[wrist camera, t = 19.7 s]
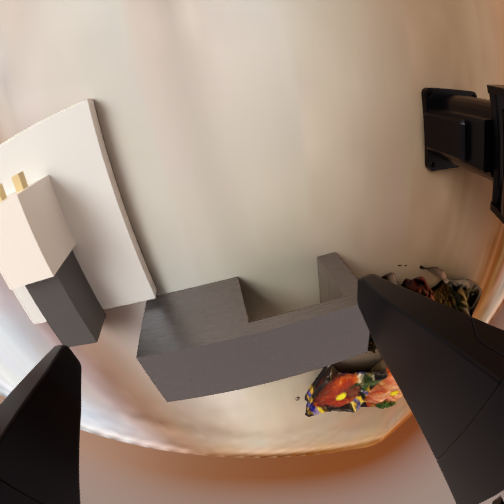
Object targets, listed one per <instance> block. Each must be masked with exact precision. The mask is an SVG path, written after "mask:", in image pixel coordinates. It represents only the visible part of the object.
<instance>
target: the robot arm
mask: <svg viewBox="0 0 504 504" xmlns="http://www.w3.org/2000/svg"><path fill="white" fill-rule="evenodd" d="M487 89H488V93H489V95H490V100H486V99H480V98H477V95H476V93H475V92H472V91H463V90H453V89H441V88H424V89H423V90H422V102H423V114H424V132H425V166H426V168H427V169H429V170H431V171H435V170H441V169H448V168H455V167H462V168H464V169H467V170H469V171H471V172H474V173H476V174H478V175H480V176H483V177H485V178H487V179H489V180H491V181H493V194H492V201H491V206H490V210H491V211H492V212H493V213H494V214H495V215H496V216H497V217H498V218H499V219H500V220H501V221H502V223H503V224H504V85H487ZM428 93H429V96H428ZM431 162H432V165H431ZM357 303H358V307H359V309H360V311H361V314H362V316H363V318H364V320H365V322H366V325H367V327H368V329H369V332H370V334H371V336H372V338H373V341H374V343H375V345H376V347H377V349H378V351H379V353H380V355H381V357H382V358H383V360H384V362H385V364H386V365H387V367H388V369H389V371H390V372H391V374H392V376H393V378H394V379H395V381H396V383H397V385H398V387H399V389H400V390H401V392H402V394H403V396H404V398H405V400H406V401H407V403H408V405H409V407H410V409H411V411H412V413H413V414H414V416H415V418H416V420H417V422H418V424H419V426H420V428H421V430H422V432H423V434H424V436H425V438H426V440H427V442H428V444H429V446H430V447H431V450H432V452H433V454H434V456H435V458H436V459H437V462H438V464H439V467H440V468H441V471H442V473H443V475H444V477H445V479H446V481H447V484H448V486H449V488H450V490H451V492H452V495H453V497H454V499H455V501H456V504H479V503H481V502H483V501H485V500H487V499H489V498H491V497H493V496H495V495H496V494H498V493H500V496H499V497H498V498H497V499H495V500H494V501H493V503H492V504H504V330H501V329H499V328H496V327H494V326H491V325H489V324H487V323H484V322H482V321H480V320H478V319H475V318H473V317H472V318H471V317H470V316H469V315H466V314H464V313H462V312H460V311H457V310H455V309H453V308H451V307H448V306H446V305H444V304H441V303H439V302H437V301H435V300H432V299H430V298H428V297H425V296H423V295H421V294H418V293H416V292H414V291H411V290H409V289H407V288H404V287H402V286H400V285H397V284H395V283H393V282H390V281H388V280H385V279H383V278H381V277H378V276H376V275H373V274H368V275H365V276H362V277H360V278H359V279H358V284H357ZM80 420H81V364H80V362H79V360H78V359H77V358H76V356H75V355H74V354H73V352H72V351H71V350H70V348H69V347H68V346H67V345H57V346H55V347H54V348H53V349H52V350H51V351H50V352H49V353H48V354H47V355H46V356H45V357H44V358H43V359H42V360H41V361H40V362H39V363H38V364H37V365H36V366H35V367H34V368H33V369H32V370H31V371H30V372H29V373H28V375H27V376H26V377H25V378H24V379H23V380H22V381H21V382H20V383H19V384H18V385H17V386H16V388H15V389H14V390H13V391H12V392H11V393H10V394H9V395H8V396H7V397H6V399H5V400H4V401H3V402H2V403H1V404H0V504H80V489H79V488H80V487H79V440H80Z"/></svg>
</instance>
